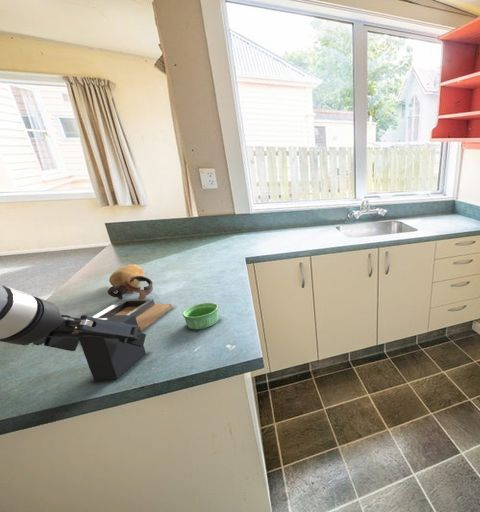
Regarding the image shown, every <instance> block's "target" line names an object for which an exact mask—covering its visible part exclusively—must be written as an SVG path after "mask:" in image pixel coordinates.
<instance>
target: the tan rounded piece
mask: <svg viewBox="0 0 480 512" xmlns="http://www.w3.org/2000/svg"><path fill="white" fill-rule="evenodd" d="M145 274H146V273H145V271H144V269H143V268H142V267H141V266H140V265H138V264H135V263H131V264H125V265H123V266H121V267H120V268H118V269H116V270H115V271H113V272H112V273H111V275H110V276H109V280H108V282H109V284H110V285H111V287H112V286H115V285H117V286H119V285H121V284H122V283H123V282H124V281H126V280H127V279H128V278H129V277H132V276H143V277H145ZM141 282H142V281H138V280H137V279H135V280H134V281H132V282H131V284H132V285H134V286H138V285H139V284H141Z"/></svg>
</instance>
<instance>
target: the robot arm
mask: <svg viewBox="0 0 480 512" xmlns="http://www.w3.org/2000/svg"><path fill="white" fill-rule="evenodd" d="M75 327H77V328H76V330H78V332H77V333H74V330H75ZM137 330H138V326H137V325H131V324H125V323H120V322H114V321H109V320H103V319H98V318H94V317H93V316H90V315H87V314H84V315H83V314H82V315H80V317H74V316H73V317H72V316H70V315H67V314H61V312H60V309H59V307H58V306H57V305H56V304H55V303H54V302H52V301H48V300H46V299H43V298H40V297H37V296H34V295H31V294H29V293H26V292H24V291H21V290H18V289H16V288H12V287H9V286H7V285H2V284H0V342H1V343H6V344H12V345H18V346H29V345H30V344H33V346H42V345H43V346H45V347H49V348H54V349H59V350H63V351H69V352H75V351H76V350H77V347H78V345H79V343H80V341H79V338H80V337H82V336H87V337H98V338H109V339H119V341H121V342H122V343H123V344H124V343H128V344H131V345H135V346H138V347H143V345H144V343H145V340H146V337H147V334H146V333H143V332H142V331H140V332H138V331H137Z"/></svg>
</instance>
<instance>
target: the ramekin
mask: <svg viewBox="0 0 480 512" xmlns="http://www.w3.org/2000/svg"><path fill="white" fill-rule="evenodd" d="M182 317H183V318H184V321H185V323H186V326H187V328H188V329H191V330H202V329H207V328H210V327H212V326H213V325H215V324H216V323H217V322H218V321H219V318H220V317H219V305H218V304H217V303H215V302H202V303H197V304H194V305H192V306H190V307H187V308H186V309H184V311H183V312H182Z"/></svg>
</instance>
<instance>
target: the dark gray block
mask: <svg viewBox="0 0 480 512" xmlns="http://www.w3.org/2000/svg"><path fill="white" fill-rule="evenodd" d="M106 320H109V321H114V322H120V323H125V324H131V325H137V326H138V324H137V320H136V317H135V315H113V316H111V317H110V318H108V319H106ZM137 331H138V332H141V331H139V327H138V330H137ZM79 344H80V346H81V349H82V352H83V354H84V357H85V360H86V363H87V365H88V368H89V370H90V373H91V377H92V379H93V381H99V380H102V381H103V380H118V379H119V378H121V377H122V375H124V374H125V373H126V372H127V371H128V370H130V369H131V368H132V367H133V366H134V365H135V364H136V363H138V362H139V361H140V360H141V359H142V358H143V357H144V356H146V354H147V352H146V349H145V345H144V344H143V347H138V346H135V345H131V344H128V343H124V344H123V343H122V342H121V341H119V339H109V338H98V337H87V336H82V337H80V338H79Z"/></svg>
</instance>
